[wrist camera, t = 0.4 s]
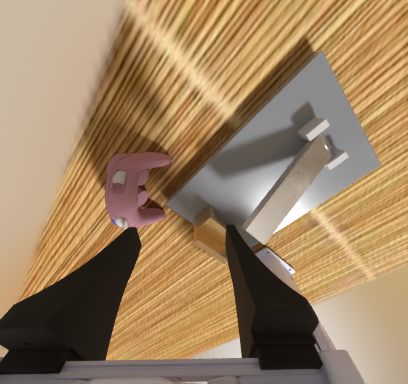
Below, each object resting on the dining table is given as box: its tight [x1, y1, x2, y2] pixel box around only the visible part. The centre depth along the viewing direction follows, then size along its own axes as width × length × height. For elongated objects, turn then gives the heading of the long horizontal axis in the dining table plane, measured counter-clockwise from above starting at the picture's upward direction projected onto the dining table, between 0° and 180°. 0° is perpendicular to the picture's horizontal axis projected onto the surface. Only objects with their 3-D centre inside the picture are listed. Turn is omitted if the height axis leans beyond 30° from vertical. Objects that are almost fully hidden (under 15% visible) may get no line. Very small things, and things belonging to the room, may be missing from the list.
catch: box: [193, 206, 236, 264], centre depth 21 cm, size 5×3×4 cm, turn 46°
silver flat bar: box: [242, 132, 335, 245], centre depth 17 cm, size 3×12×1 cm, turn 136°
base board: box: [166, 51, 381, 248], centre depth 20 cm, size 15×22×3 cm
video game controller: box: [105, 152, 171, 229], centre depth 20 cm, size 10×5×7 cm, turn 168°
